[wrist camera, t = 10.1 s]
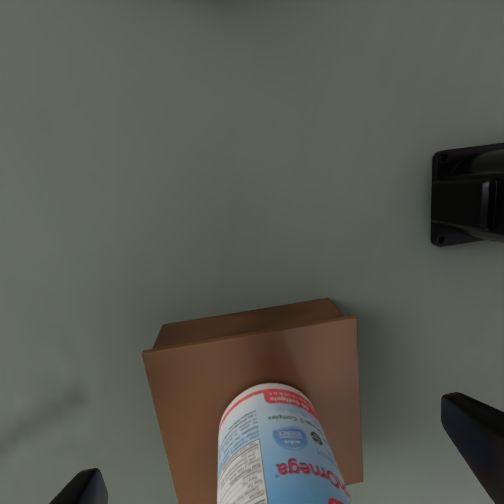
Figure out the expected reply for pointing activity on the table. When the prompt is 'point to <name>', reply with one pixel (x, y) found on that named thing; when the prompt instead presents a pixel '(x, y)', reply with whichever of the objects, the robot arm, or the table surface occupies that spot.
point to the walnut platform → (253, 383)
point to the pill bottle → (276, 451)
